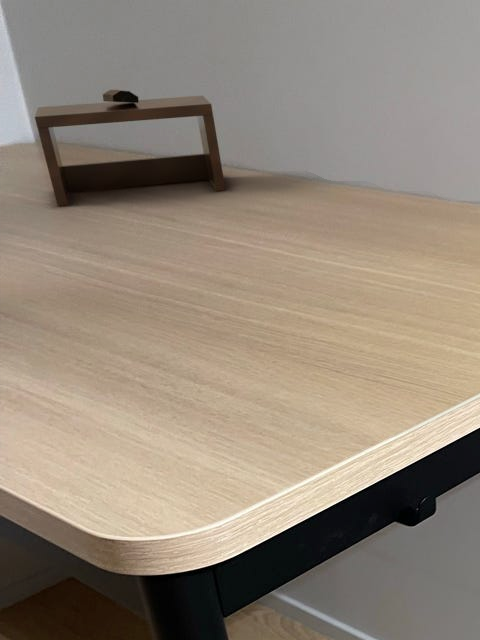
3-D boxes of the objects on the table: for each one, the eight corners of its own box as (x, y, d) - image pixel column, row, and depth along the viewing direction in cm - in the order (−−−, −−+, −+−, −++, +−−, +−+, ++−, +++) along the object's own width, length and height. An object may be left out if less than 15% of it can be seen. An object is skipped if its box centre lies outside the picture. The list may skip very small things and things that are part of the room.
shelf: (57, 206, 119) (34, 116, 114) (59, 191, 127) (37, 107, 121) (225, 190, 124) (211, 103, 118) (217, 177, 132) (203, 95, 126)
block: (113, 109, 117) (110, 91, 116) (102, 104, 121) (99, 87, 120) (144, 106, 118) (141, 89, 117) (132, 101, 123) (129, 85, 122)
